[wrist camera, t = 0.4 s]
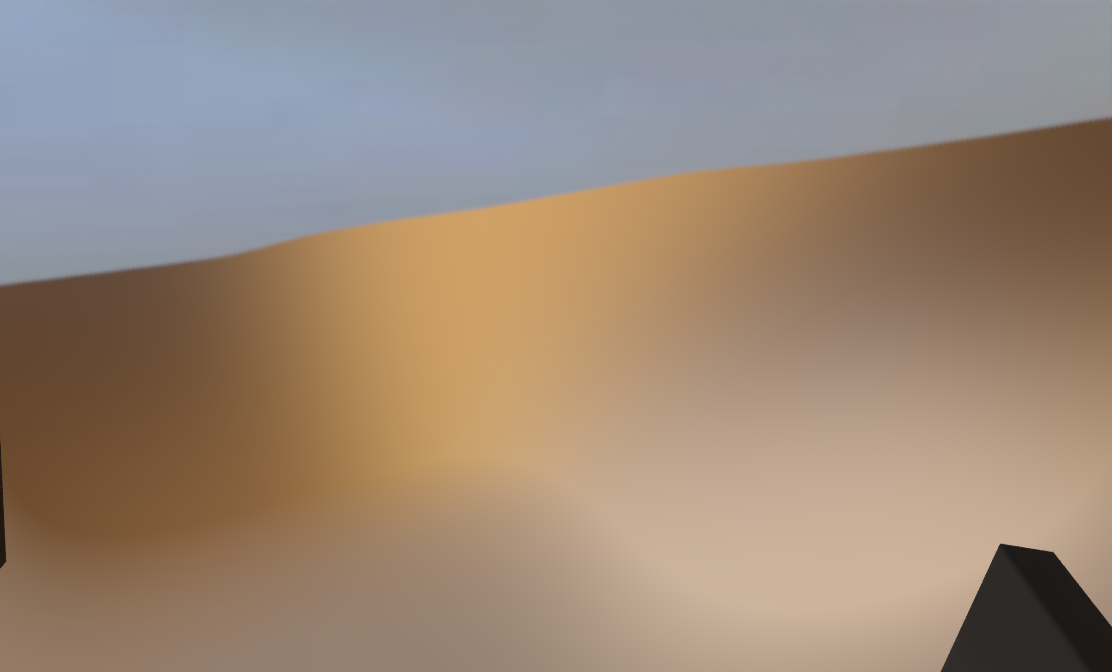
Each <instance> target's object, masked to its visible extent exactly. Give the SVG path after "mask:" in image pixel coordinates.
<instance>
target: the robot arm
mask: <svg viewBox="0 0 1112 672" xmlns="http://www.w3.org/2000/svg"><path fill="white" fill-rule="evenodd" d="M5 562H6V550H5V528H4V507H3V486H2V467H1V445H0V568H1V567H2V566H3V565H4V563H5ZM941 672H1112V627H1111V625H1110V624H1109V623H1108V621H1107V620H1106V619H1105V618H1104V616H1103V615H1102V614H1101V612H1100V611H1099V610H1098V609H1097V607H1096V606H1095V605H1094V604H1093V602H1092V601H1091V600H1090V598H1089V597H1088V596H1087V595H1086V593H1085V592H1084V591H1083V589H1082V588H1081V587H1080V586H1079V584H1078V583H1077V582H1076V581H1075V579H1074V578H1073V577H1072V576H1071V574H1070V573H1069V572H1068V570H1067V569H1066V568H1065V566H1064V565H1063V564H1062V563H1061V561H1060V560H1059V559H1058V558H1057V556H1056V555H1055V554H1054V552H1049V551H1043V550H1036V549H1031V548H1024V547H1018V546H1011V545H1005V544H1000V545H999V547H998V549H997V551H996V554H995V556H994V558H993V560H992V562H991V564H990V567H989V569H988V571H987V573H986V575H985V577H984V580H983V582H982V584H981V586H980V588H979V590H978V593H977V595H976V597H975V599H974V601H973V603H972V605H971V608H970V610H969V612H968V614H967V616H966V619H965V621H964V623H963V625H962V627H961V629H960V631H959V633H958V636H957V638H956V640H955V642H954V644H953V646H952V649H951V651H950V653H949V655H948V657H947V659H946V662H945V664H944V666H943V668H942V670H941Z"/></svg>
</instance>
